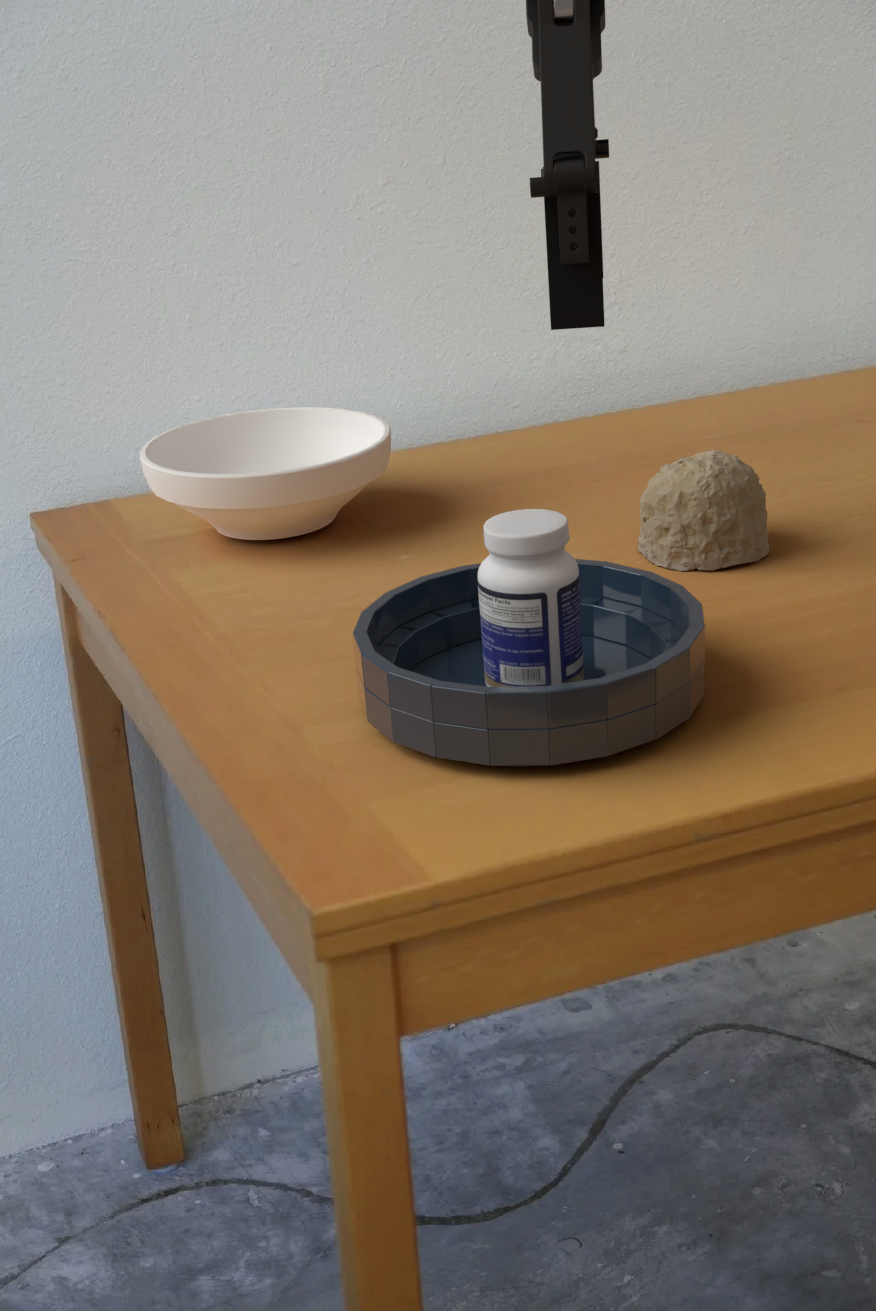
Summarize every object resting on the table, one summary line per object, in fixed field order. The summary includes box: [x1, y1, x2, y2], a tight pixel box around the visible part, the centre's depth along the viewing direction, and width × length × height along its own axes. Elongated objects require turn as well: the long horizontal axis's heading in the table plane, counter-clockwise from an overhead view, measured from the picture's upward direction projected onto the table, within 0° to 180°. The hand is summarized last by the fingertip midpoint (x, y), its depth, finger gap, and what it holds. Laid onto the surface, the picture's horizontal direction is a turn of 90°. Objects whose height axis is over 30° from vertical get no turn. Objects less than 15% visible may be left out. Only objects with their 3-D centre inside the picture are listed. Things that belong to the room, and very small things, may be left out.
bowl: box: [139, 406, 392, 541], centre depth 116 cm, size 20×20×7 cm
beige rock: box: [637, 449, 770, 572], centre depth 104 cm, size 9×10×10 cm
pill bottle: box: [478, 508, 584, 687], centre depth 83 cm, size 6×6×10 cm
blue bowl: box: [352, 558, 706, 768], centre depth 84 cm, size 20×20×5 cm
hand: (579, 301), depth 81 cm, fingers open, 13 cm apart
